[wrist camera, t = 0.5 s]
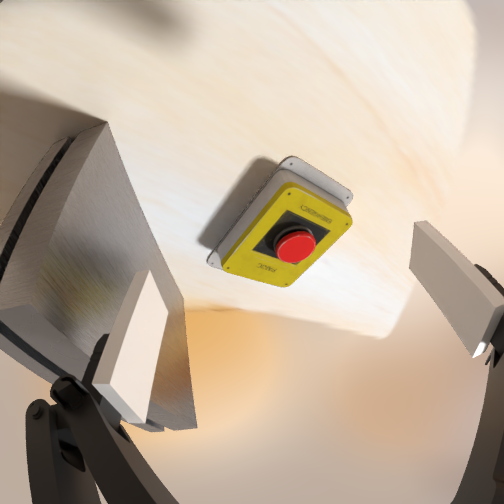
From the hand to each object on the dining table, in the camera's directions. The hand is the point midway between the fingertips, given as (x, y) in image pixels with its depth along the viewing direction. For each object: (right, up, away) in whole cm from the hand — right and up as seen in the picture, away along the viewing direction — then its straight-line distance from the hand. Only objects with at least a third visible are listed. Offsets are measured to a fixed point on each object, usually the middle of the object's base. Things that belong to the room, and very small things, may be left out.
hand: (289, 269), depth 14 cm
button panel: (-14, +2, +13) cm, 19 cm away
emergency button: (+1, +4, +17) cm, 18 cm away
